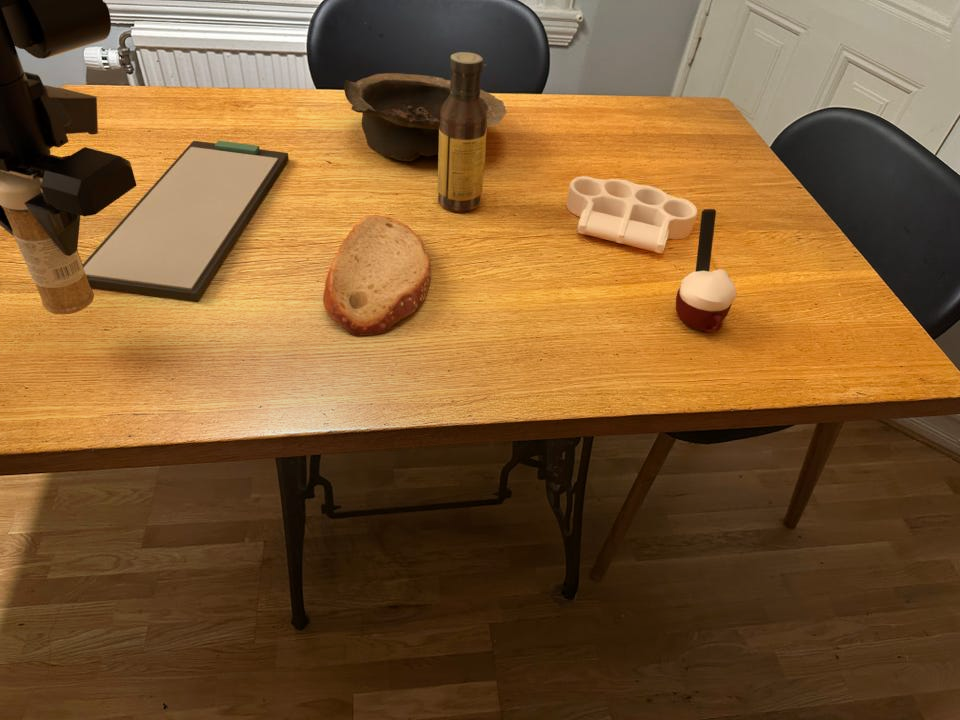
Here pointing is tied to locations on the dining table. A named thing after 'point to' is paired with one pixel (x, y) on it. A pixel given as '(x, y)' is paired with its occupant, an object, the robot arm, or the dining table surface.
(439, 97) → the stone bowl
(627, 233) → the knuckle duster
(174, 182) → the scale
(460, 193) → the sauce bottle
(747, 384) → the dining table surface
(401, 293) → the slice of bread
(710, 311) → the cocoa
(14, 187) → the sprinkles bottle
